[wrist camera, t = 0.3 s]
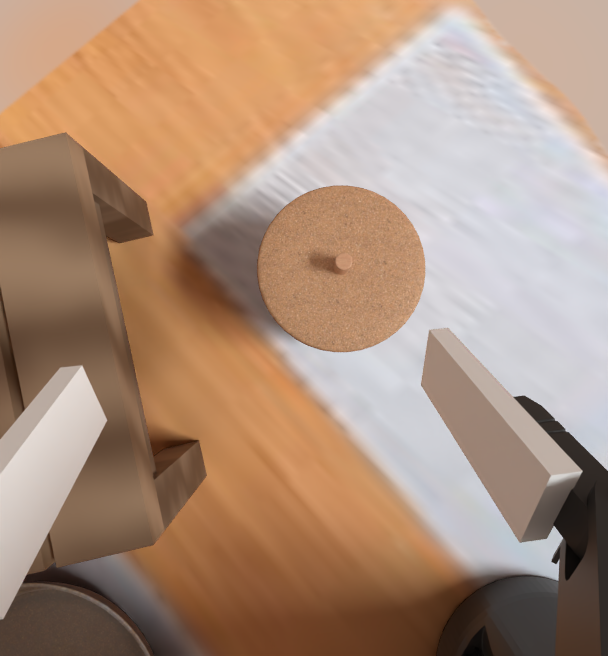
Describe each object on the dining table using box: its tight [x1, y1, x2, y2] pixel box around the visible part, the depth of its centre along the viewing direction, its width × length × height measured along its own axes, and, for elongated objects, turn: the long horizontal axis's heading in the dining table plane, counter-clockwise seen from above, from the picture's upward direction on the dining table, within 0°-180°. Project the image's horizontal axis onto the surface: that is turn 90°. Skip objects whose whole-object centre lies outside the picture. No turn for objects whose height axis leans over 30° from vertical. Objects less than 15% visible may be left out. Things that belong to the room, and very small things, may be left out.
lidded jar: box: [257, 186, 425, 352], centre depth 25 cm, size 11×11×9 cm
